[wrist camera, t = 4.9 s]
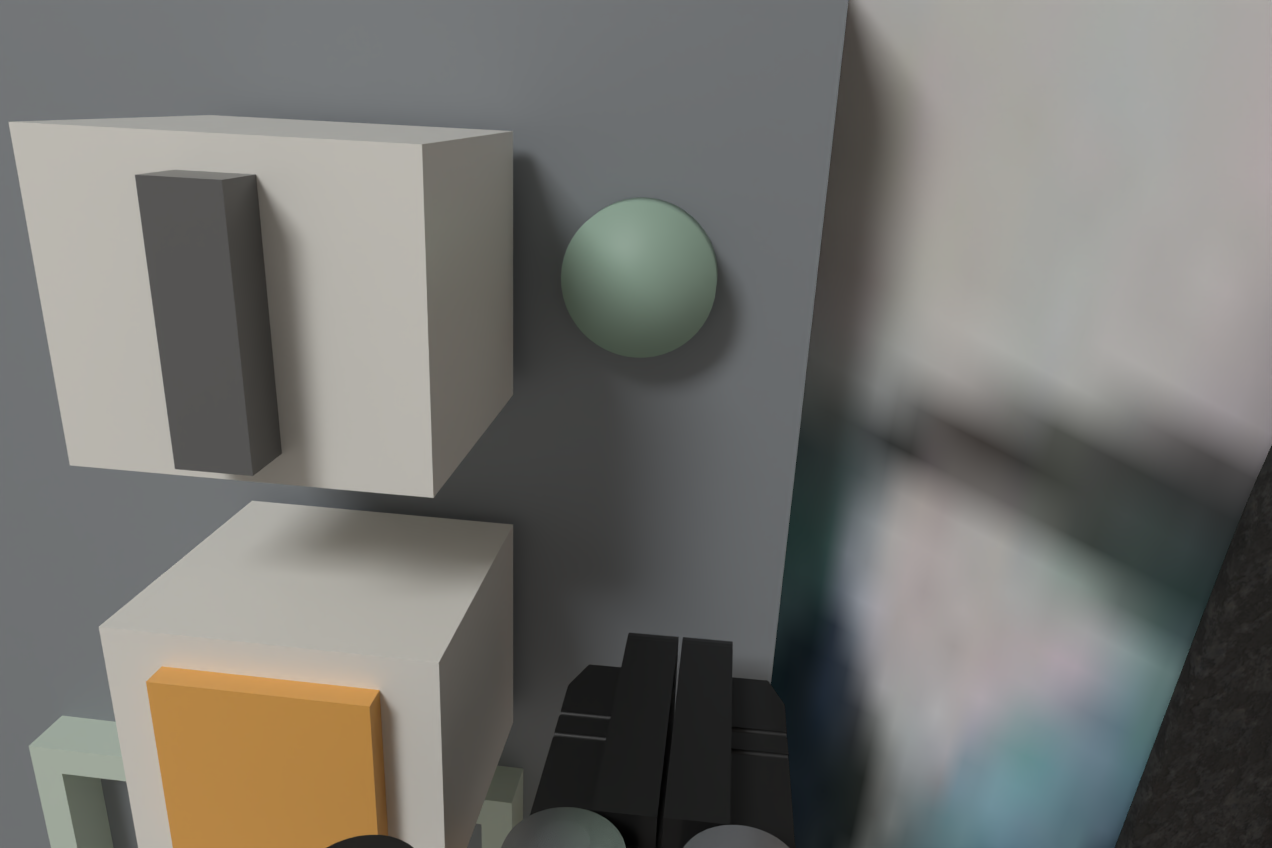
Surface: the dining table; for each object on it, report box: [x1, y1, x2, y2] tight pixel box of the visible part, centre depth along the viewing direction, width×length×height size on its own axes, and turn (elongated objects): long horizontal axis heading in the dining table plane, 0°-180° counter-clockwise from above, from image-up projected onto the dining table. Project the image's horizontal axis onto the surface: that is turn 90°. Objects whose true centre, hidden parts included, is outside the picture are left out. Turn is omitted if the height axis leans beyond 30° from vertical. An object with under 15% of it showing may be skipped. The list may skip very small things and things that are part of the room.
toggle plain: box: [9, 115, 513, 498], centre depth 10 cm, size 4×4×4 cm
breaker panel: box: [0, 0, 849, 848], centre depth 15 cm, size 14×21×3 cm, turn 177°
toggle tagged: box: [99, 501, 513, 848], centre depth 12 cm, size 4×4×4 cm
